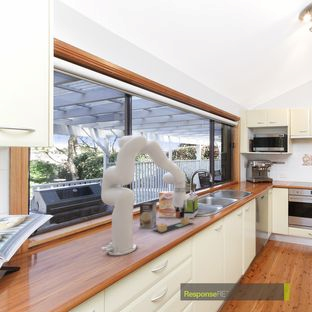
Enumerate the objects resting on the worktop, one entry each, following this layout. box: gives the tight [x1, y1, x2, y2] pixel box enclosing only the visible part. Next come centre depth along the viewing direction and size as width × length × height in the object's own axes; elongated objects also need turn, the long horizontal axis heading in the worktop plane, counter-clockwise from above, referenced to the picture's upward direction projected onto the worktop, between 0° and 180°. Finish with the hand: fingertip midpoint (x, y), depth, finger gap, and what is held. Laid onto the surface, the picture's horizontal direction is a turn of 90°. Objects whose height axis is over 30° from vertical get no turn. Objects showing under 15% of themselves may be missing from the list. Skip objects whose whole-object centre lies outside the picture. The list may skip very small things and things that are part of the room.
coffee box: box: [139, 201, 158, 229], centre depth 147 cm, size 9×6×16 cm
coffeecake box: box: [158, 190, 181, 218], centre depth 173 cm, size 15×7×20 cm, turn 88°
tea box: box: [182, 195, 199, 219], centre depth 175 cm, size 15×10×15 cm
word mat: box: [152, 217, 194, 235], centre depth 146 cm, size 26×10×4 cm, turn 142°
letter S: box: [175, 210, 184, 220], centre depth 149 cm, size 4×4×4 cm
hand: (180, 216), depth 149 cm, fingers closed on letter S, 4 cm apart
